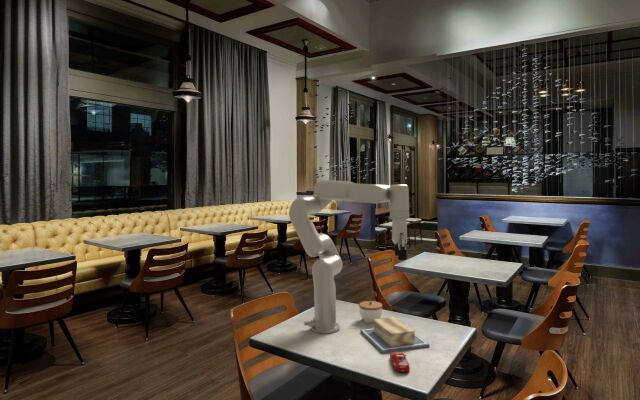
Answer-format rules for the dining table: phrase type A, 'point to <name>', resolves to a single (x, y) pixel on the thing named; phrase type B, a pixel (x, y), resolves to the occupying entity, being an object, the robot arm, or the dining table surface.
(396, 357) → the race car
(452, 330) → the dining table surface
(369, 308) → the lidded jar
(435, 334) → the dining table surface
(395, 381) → the dining table surface
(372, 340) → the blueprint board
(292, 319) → the dining table surface
